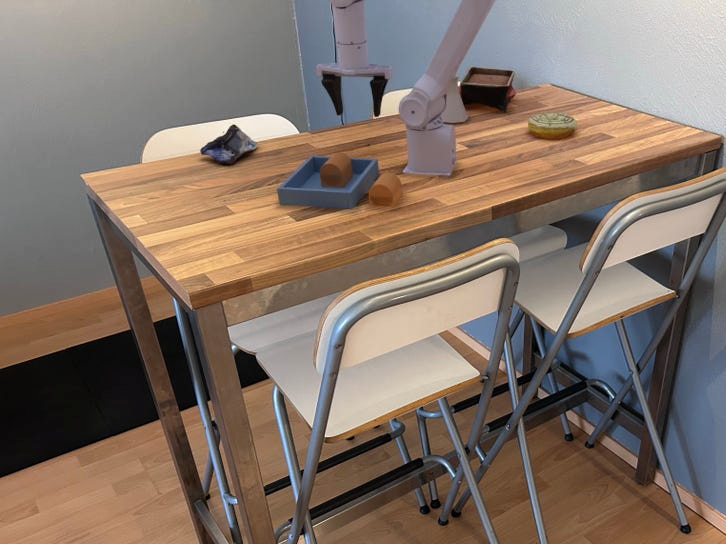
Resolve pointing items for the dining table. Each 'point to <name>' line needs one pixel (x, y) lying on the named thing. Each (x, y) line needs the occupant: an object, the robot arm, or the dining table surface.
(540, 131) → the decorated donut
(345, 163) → the cylinder
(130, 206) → the dining table surface
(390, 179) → the bread roll
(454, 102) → the flask
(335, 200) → the tray
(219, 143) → the snack package
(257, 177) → the dining table surface
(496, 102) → the square planter pot
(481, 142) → the dining table surface
